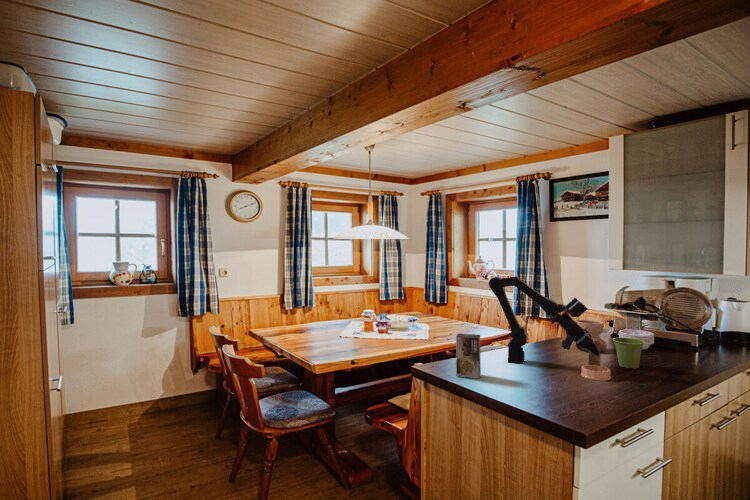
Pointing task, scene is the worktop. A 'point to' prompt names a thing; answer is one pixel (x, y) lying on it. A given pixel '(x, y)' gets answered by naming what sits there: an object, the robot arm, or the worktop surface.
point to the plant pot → (628, 351)
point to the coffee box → (468, 355)
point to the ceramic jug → (593, 331)
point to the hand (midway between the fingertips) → (598, 353)
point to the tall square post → (593, 357)
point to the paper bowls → (638, 336)
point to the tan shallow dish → (596, 372)
